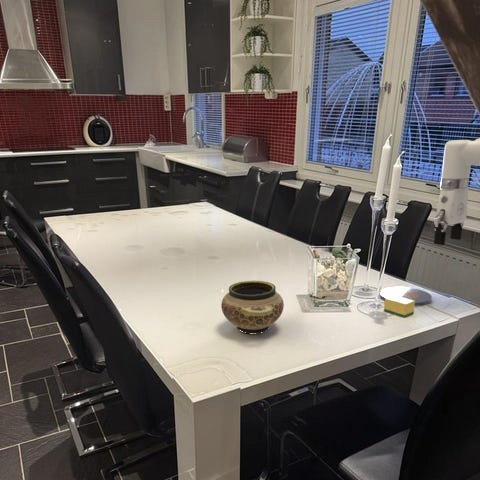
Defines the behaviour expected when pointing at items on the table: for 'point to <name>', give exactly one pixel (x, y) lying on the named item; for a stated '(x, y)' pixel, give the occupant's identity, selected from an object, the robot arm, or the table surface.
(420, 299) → the plate
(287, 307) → the table surface
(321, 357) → the table surface
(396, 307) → the sponge
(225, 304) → the ceramic bowl
